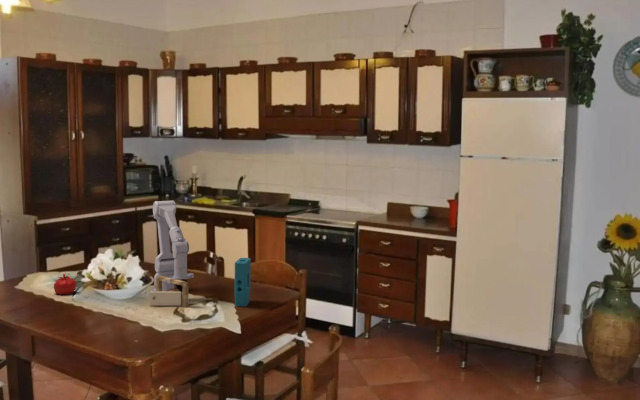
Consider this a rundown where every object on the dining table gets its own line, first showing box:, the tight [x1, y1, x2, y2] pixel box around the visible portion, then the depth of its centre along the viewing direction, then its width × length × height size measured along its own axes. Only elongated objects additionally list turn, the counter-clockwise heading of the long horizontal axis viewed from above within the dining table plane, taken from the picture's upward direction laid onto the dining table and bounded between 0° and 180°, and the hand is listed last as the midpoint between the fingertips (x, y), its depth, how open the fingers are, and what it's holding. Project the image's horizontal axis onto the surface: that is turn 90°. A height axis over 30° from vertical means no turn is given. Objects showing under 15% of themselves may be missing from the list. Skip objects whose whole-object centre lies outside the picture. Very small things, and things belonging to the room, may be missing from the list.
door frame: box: [155, 276, 189, 308], centre depth 274 cm, size 19×2×11 cm, turn 55°
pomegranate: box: [53, 273, 78, 295], centre depth 287 cm, size 10×10×9 cm
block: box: [234, 257, 252, 307], centre depth 275 cm, size 12×5×20 cm, turn 174°
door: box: [149, 291, 183, 307], centre depth 269 cm, size 15×2×6 cm, turn 94°
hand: (180, 295), depth 280 cm, fingers closed, pressing on bread roll
